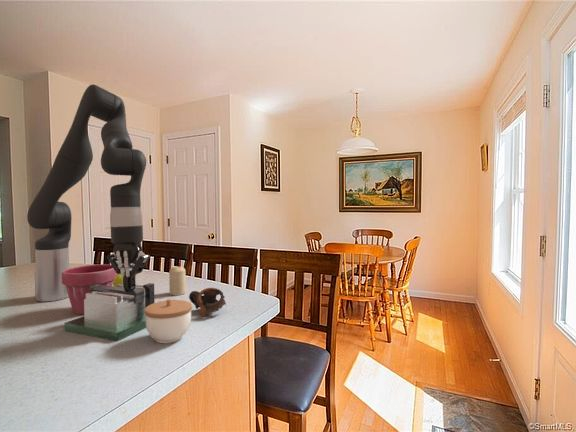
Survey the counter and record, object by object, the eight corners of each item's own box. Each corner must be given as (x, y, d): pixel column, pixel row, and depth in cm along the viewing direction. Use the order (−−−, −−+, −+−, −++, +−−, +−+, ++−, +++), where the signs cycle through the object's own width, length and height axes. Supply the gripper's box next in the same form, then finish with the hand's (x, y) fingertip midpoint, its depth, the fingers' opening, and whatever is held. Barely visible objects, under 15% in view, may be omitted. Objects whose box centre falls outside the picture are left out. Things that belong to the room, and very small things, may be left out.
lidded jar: (164, 351, 70) (163, 309, 69) (135, 340, 75) (134, 301, 75) (201, 335, 79) (201, 297, 78) (173, 326, 84) (172, 291, 84)
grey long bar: (90, 296, 87) (89, 285, 87) (98, 294, 89) (98, 283, 89) (136, 303, 81) (136, 292, 81) (144, 300, 84) (143, 289, 84)
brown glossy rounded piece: (229, 308, 101) (231, 289, 96) (216, 331, 93) (217, 312, 88) (195, 296, 103) (195, 278, 98) (179, 318, 95) (178, 299, 90)
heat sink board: (64, 330, 81) (63, 288, 81) (117, 311, 96) (117, 275, 96) (117, 341, 75) (116, 295, 74) (165, 318, 90) (165, 280, 89)
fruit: (127, 293, 116) (126, 260, 115) (108, 292, 116) (108, 260, 116) (136, 288, 123) (136, 257, 122) (119, 287, 123) (118, 257, 122)
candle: (188, 291, 118) (187, 264, 117) (181, 295, 112) (181, 267, 112) (173, 291, 118) (173, 264, 118) (166, 295, 113) (166, 267, 113)
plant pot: (50, 314, 93) (49, 271, 93) (94, 300, 106) (93, 262, 106) (85, 320, 88) (84, 274, 88) (127, 305, 102) (126, 265, 101)
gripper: (157, 223, 84) (159, 288, 85) (120, 224, 89) (122, 285, 89) (134, 225, 77) (137, 295, 78) (95, 225, 82) (98, 292, 82)
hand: (129, 290), depth 84 cm, fingers closed
